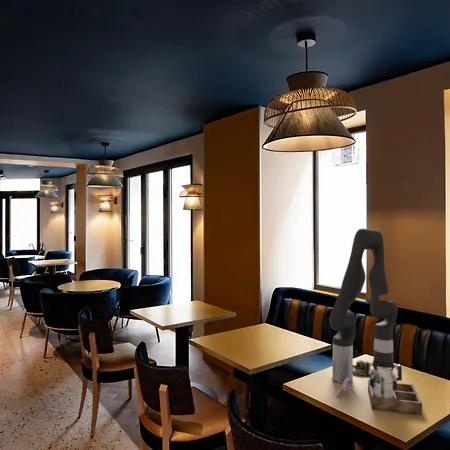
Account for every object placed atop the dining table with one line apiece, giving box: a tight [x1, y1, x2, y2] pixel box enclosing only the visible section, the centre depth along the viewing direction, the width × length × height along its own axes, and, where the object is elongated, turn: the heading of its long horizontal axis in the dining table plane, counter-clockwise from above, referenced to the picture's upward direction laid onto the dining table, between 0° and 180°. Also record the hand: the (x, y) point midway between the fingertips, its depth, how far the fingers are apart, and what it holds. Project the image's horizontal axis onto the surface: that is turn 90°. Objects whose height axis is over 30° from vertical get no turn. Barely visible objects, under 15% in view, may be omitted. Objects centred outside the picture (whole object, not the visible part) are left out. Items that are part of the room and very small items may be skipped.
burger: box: [353, 359, 373, 376], centre depth 198 cm, size 12×12×8 cm
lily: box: [335, 373, 357, 397], centre depth 172 cm, size 12×12×10 cm
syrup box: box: [372, 366, 394, 399], centre depth 163 cm, size 6×6×14 cm
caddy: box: [367, 379, 423, 416], centre depth 166 cm, size 18×18×5 cm
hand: (383, 388), depth 163 cm, fingers closed on syrup box, 7 cm apart
